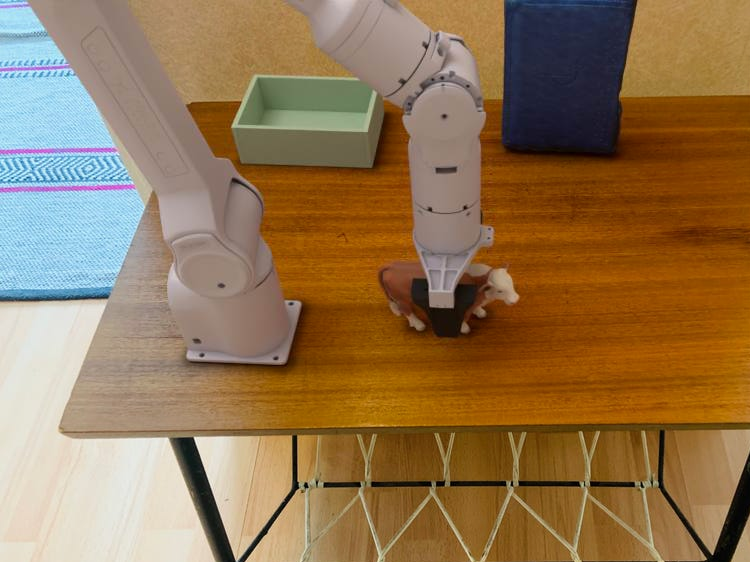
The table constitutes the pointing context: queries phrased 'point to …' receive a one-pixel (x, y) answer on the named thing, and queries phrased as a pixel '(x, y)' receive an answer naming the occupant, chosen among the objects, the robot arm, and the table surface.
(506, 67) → the book
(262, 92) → the bin
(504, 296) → the bull figurine
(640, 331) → the table surface
